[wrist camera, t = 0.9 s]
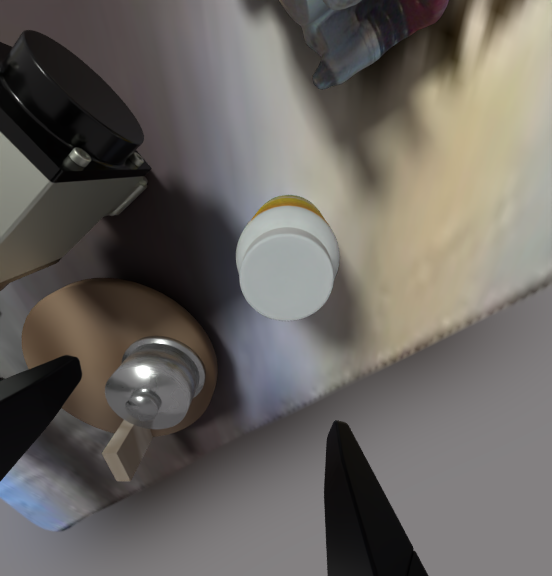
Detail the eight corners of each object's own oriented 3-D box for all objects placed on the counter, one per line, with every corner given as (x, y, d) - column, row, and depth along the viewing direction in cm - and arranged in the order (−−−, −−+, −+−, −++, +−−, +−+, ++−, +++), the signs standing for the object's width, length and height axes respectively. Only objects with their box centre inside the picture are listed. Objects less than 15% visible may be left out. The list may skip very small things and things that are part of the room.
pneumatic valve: (198, 153, 18) (61, 136, 7) (93, 253, 22) (-109, 344, 11) (136, 73, 17) (-165, -106, 6) (33, 195, 20) (-282, 231, 9)
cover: (138, 401, 24) (111, 443, 21) (112, 338, 21) (76, 373, 18) (213, 399, 24) (198, 441, 20) (196, 333, 21) (176, 369, 17)
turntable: (79, 426, 28) (34, 481, 23) (1, 285, 22) (-85, 320, 17) (231, 422, 27) (218, 480, 22) (196, 270, 20) (165, 304, 15)
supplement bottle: (325, 263, 21) (350, 333, 12) (257, 268, 21) (233, 339, 13) (323, 189, 19) (352, 210, 10) (247, 197, 19) (211, 223, 10)
